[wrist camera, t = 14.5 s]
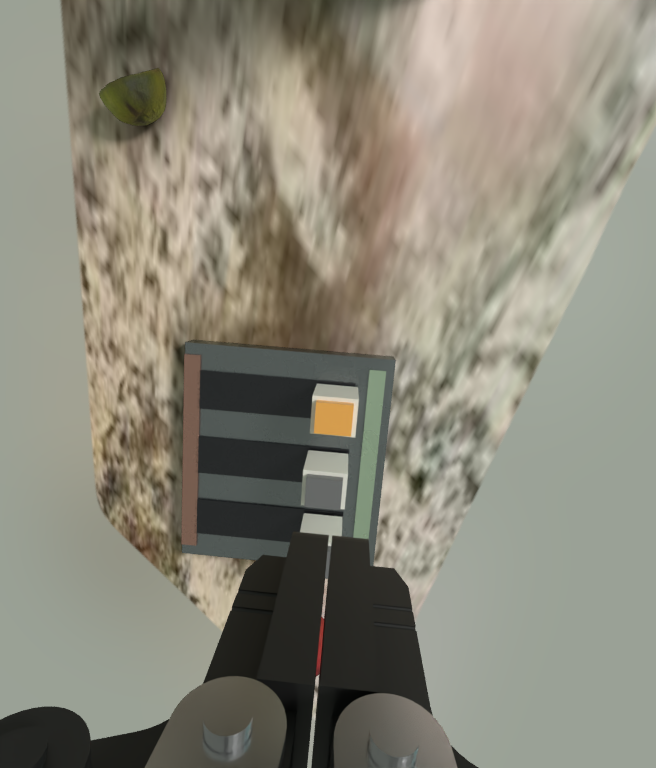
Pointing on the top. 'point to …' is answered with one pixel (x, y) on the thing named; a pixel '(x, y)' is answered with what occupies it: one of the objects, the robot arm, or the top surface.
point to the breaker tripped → (334, 410)
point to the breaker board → (273, 444)
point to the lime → (136, 97)
